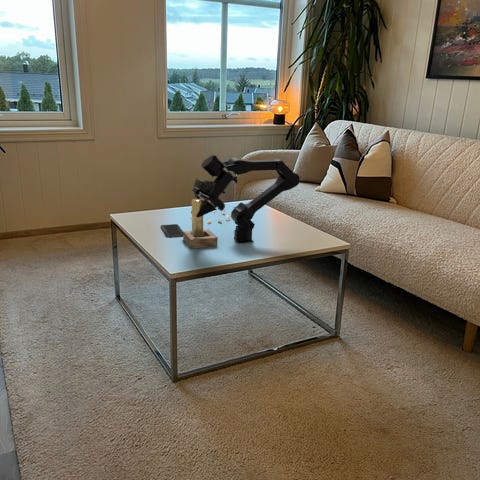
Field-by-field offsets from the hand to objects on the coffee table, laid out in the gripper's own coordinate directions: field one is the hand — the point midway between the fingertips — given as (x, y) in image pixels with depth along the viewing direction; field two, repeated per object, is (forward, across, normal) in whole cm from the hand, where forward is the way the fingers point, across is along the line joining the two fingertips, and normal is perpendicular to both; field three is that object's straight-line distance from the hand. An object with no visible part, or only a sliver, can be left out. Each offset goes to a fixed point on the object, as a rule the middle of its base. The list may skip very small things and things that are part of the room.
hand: (194, 215), depth 182 cm
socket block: (+6, -4, +12) cm, 15 cm away
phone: (+10, -22, +9) cm, 26 cm away
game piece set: (-7, -34, +27) cm, 44 cm away
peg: (+5, 0, +7) cm, 8 cm away
